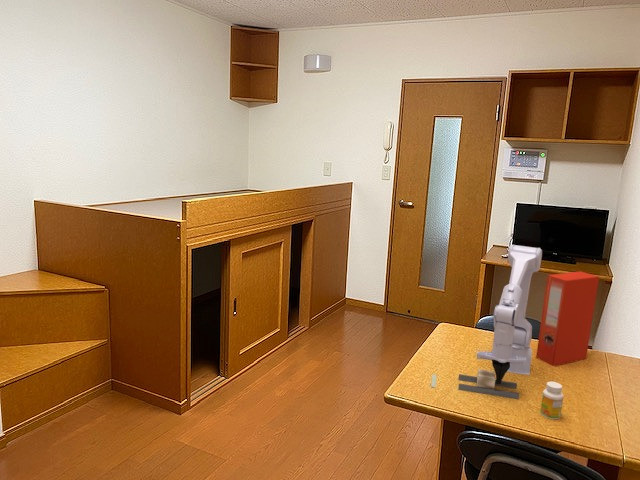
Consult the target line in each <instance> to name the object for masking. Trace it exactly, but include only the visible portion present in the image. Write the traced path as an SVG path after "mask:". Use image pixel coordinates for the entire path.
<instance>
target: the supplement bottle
mask: <svg viewBox="0 0 640 480" xmlns="http://www.w3.org/2000/svg"><path fill="white" fill-rule="evenodd" d="M562 389H563V385H562V384H561V383H559V382H555V381H547V382H546V388H545V389H544V390H543V391H542V398H541V404H540V414H541V416H543V417H545V418H547V419H551V420H559V419H560V418H561V416H562V410H563V403H564V402H563V401H564V393H563V392H562Z"/></svg>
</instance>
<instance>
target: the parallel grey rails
mask: <svg viewBox="0 0 640 480" xmlns="http://www.w3.org/2000/svg"><path fill="white" fill-rule="evenodd" d="M457 380H458V381H463V382H469V383H474V384H477V376H473V375H466V374H462V373H461V374H460V373H459V374H458V379H457ZM457 387H458V390H459V391H463V392H464V391H466V392H471V393H475V394H476V393H477V394H484V395H489V396H495V397H503V398H509V399H514V400H519V399H520V392H516V391H511V390H510V391H509V390H503V389H496V388H494V389H491V388H485V387H478V386H477V385H471V384H466V383H464V384H463V383H458V386H457ZM494 387H500V388H501V387H502V388H508V389H514V390H517V387H518V383H517V382H513V381H506V380H502V381H501V384H497V383H496V379H495V386H494Z"/></svg>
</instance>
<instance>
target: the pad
mask: <svg viewBox="0 0 640 480" xmlns="http://www.w3.org/2000/svg"><path fill="white" fill-rule="evenodd" d="M430 383H431V384H430V388H434V389H436V386H437V374H433V373H432V376H431V382H430Z"/></svg>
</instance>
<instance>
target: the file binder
mask: <svg viewBox="0 0 640 480" xmlns="http://www.w3.org/2000/svg"><path fill="white" fill-rule="evenodd" d="M546 276H547V277H546V283H545V290H544V299H543V304H542V305H543V306H542V313H541V321H540V327H539V332H538V333H539V335H538V340H537V341H538V342H537V349H536V356H535V357H536V358H537V359H538V360H540V361H543V362H544V363H546V364H548V365H551V366H552V367H556V366H560V365H564V364H568V363H573V362H577V361H582V360H585V359H587V357H588V356H587V355H588V350H589V349H588V348H589V343H590V337H591V329H592V323H593V318H594V312H595V311H594V310H595V306H596V305H595V304H596V298H597V292H598V286H599V281H600V276H598V275H595V274H591V273H587V272H584V271H580V270H579V271H571V272H563V273H556V274H547V275H546Z"/></svg>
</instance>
